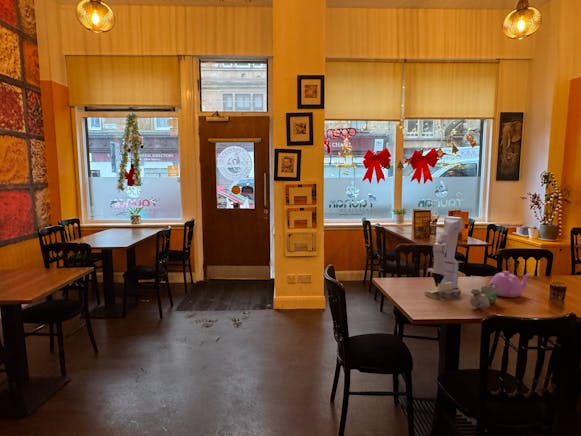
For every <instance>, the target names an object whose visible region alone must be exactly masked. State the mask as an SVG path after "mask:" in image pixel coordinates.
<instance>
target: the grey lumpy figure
mask: <svg viewBox="0 0 581 436" xmlns="http://www.w3.org/2000/svg"><path fill="white" fill-rule="evenodd" d="M470 294H471V296H470V300H469V304H470V305H471V306H472V307H473V308H477V309H479V310H485V309H487V308H489V307H490V306H491V305H490V304H489V299H488V297H487V296H486V295H485V294H482V290H481V289H479V288H472V289H471V290H470Z"/></svg>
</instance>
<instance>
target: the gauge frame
mask: <svg viewBox="0 0 581 436" xmlns="http://www.w3.org/2000/svg"><path fill="white" fill-rule="evenodd" d="M433 292H438V290H434V291H432V290H430V289H429V290H425V291H424V295H425V296H427V297H430V298H433V299H435V300H441V301H444V302H445V301H450V300H454V299H460V298H462V296H461V292H462V291H461V290H460V289H458V288H454V289H452V290H450V291H444V292H442V293H441V294H439V293H435V294H433Z"/></svg>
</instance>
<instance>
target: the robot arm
mask: <svg viewBox="0 0 581 436" xmlns="http://www.w3.org/2000/svg"><path fill="white" fill-rule="evenodd" d="M463 225H464V219H463V217H462V216H460V217H459V216H449V215H448V216H444V219H443V226H444V229H443V232H442V233H441V234H440V235H439V237H438V239H437V241H436V242H435V243H434V244H433V245H432V253H433V254H432V255H433V268H430V267H429V268H427V272H428V273H432V274H431V276H432V278H433V280H434V285H435V287H437V288H438V284H440V283H446V282H452V290H455V289H459V285H458V284H459V276H458V274H457V273H458V271H459V262H458V260H456V259H455V255H456V249H457V243H458V238H459V233H460V232H462V231H463Z"/></svg>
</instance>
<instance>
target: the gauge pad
mask: <svg viewBox="0 0 581 436" xmlns="http://www.w3.org/2000/svg"><path fill="white" fill-rule="evenodd" d="M450 290H453V289H452V282H446V283H442V282H441V283H440V284H438V287H437V291H438V292H433V294H435V293H439V294H441V293H442V292H444V291H450Z"/></svg>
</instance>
